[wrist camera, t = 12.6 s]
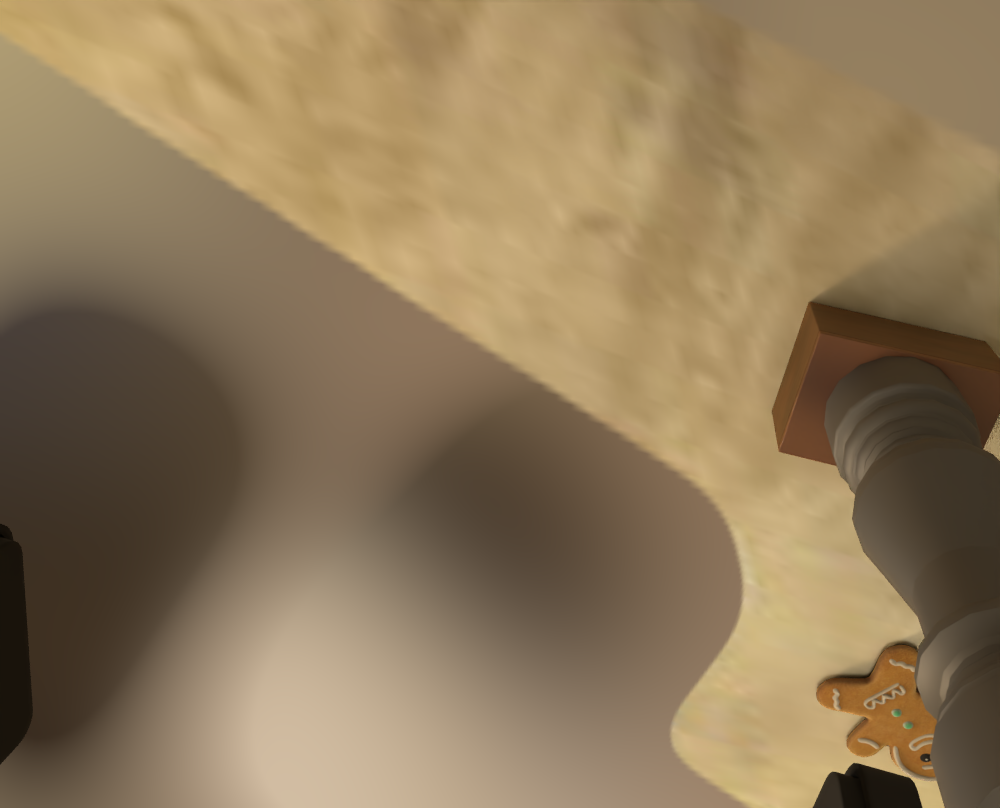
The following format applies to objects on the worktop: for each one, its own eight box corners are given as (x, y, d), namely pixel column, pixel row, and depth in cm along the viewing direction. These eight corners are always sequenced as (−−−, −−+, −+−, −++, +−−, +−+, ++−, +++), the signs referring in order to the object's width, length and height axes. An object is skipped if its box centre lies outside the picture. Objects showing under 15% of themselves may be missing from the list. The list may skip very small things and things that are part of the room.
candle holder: (846, 342, 43) (1004, 720, 20) (982, 371, 42) (1301, 793, 20) (807, 457, 45) (910, 902, 23) (935, 485, 45) (1168, 972, 22)
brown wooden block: (809, 301, 47) (820, 332, 43) (986, 341, 46) (1016, 377, 42) (771, 411, 50) (778, 451, 46) (937, 451, 49) (961, 496, 45)
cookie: (919, 639, 53) (1020, 752, 54) (916, 629, 54) (1016, 741, 55) (799, 701, 56) (897, 807, 58) (797, 691, 57) (895, 795, 59)
